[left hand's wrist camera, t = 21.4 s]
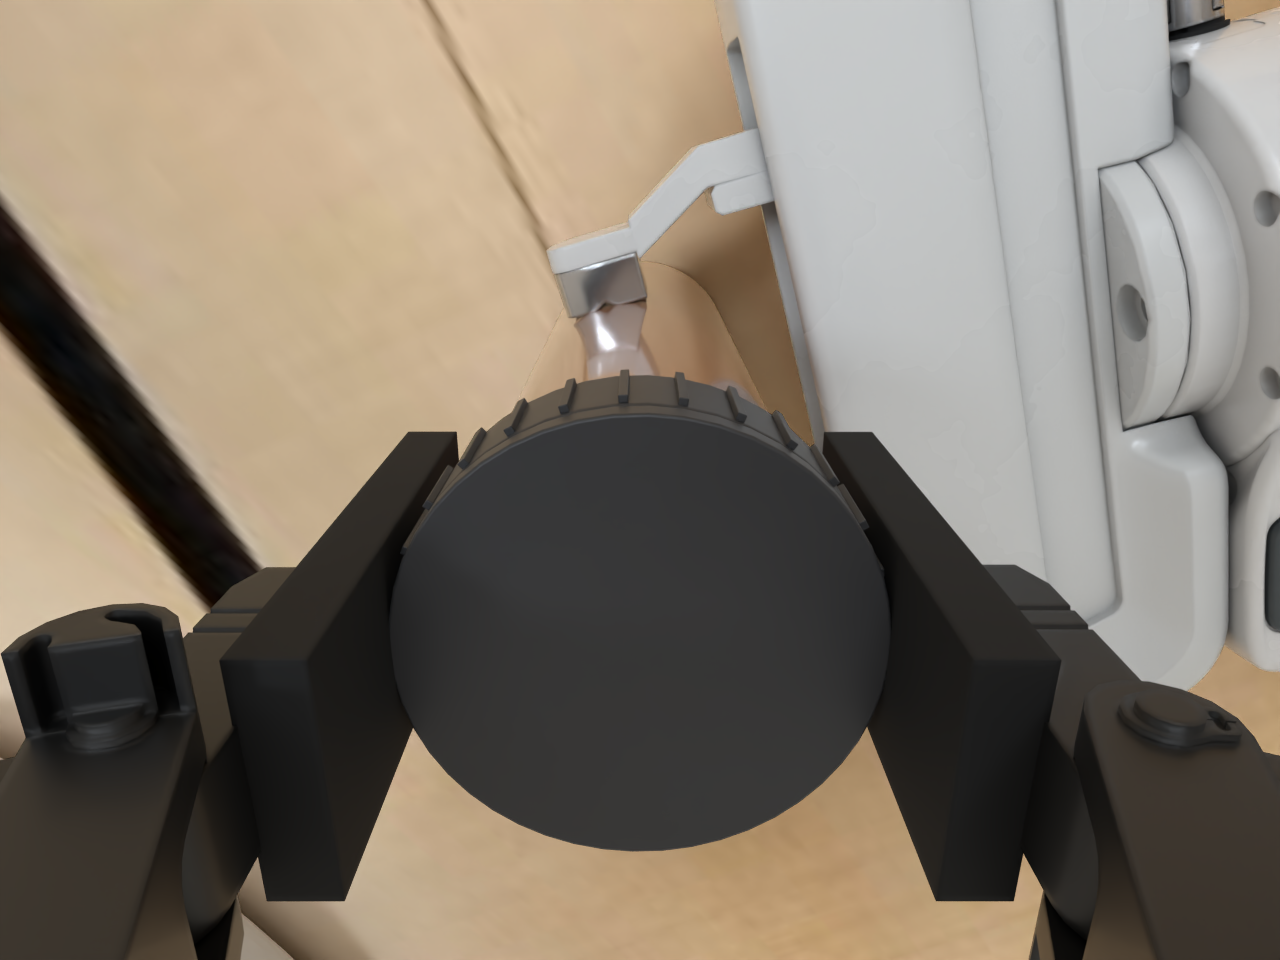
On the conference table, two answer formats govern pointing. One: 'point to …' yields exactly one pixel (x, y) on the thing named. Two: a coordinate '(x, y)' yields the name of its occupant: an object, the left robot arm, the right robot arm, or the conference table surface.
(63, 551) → the conference table surface
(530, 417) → the lid
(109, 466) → the conference table surface
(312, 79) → the conference table surface
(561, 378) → the jar
